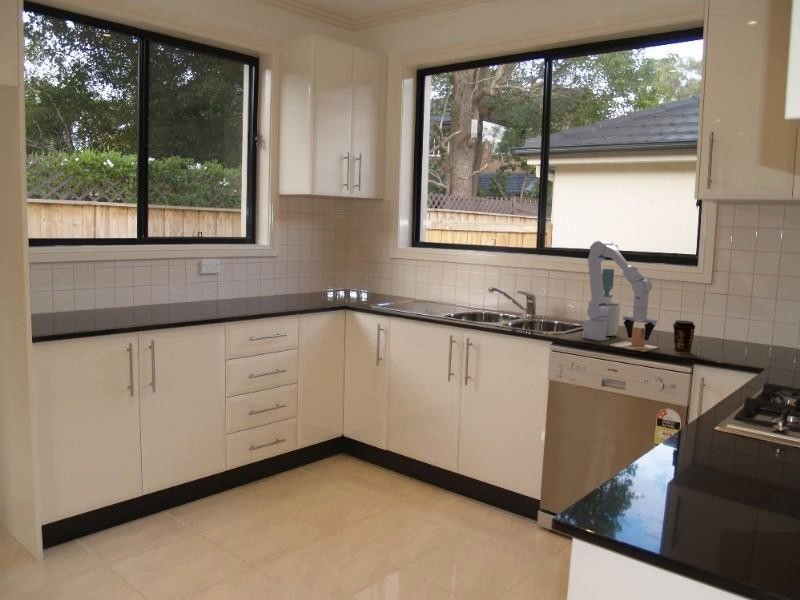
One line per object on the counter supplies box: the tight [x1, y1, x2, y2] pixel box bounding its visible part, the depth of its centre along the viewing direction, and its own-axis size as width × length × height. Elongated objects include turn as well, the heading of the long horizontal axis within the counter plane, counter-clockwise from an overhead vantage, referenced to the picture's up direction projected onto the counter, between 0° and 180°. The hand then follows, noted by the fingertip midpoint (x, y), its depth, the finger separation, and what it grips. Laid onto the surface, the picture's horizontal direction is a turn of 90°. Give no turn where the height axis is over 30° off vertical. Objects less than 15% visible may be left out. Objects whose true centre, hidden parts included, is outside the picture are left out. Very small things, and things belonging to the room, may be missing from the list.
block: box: [631, 326, 646, 346], centre depth 294 cm, size 4×4×8 cm
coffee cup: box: [672, 319, 696, 355], centre depth 283 cm, size 9×8×13 cm
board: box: [609, 341, 661, 353], centre depth 293 cm, size 16×14×1 cm
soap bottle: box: [602, 268, 620, 337], centre depth 320 cm, size 12×12×31 cm
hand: (638, 338), depth 294 cm, fingers open, 7 cm apart
